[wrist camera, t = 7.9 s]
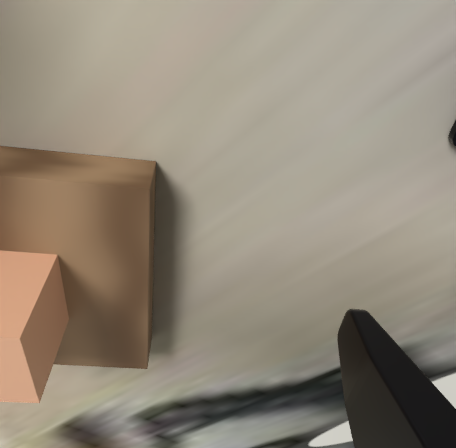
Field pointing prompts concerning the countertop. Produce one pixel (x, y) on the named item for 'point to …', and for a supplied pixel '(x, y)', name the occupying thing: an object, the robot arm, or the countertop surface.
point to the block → (29, 323)
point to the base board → (88, 245)
